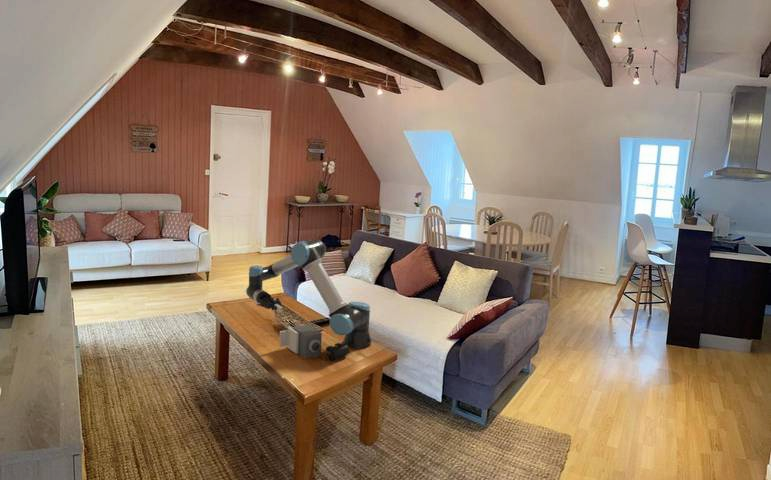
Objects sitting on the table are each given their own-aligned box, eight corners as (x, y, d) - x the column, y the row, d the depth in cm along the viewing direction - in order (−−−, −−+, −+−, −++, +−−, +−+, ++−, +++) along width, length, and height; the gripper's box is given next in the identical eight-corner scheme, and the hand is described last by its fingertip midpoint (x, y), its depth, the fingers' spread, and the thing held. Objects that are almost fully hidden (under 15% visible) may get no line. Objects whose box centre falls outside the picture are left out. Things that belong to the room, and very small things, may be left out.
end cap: (334, 363, 242) (335, 350, 241) (324, 359, 247) (325, 346, 246) (348, 357, 250) (349, 345, 249) (339, 353, 254) (339, 341, 253)
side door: (289, 346, 258) (289, 326, 256) (298, 353, 250) (298, 332, 248) (279, 348, 255) (279, 328, 253) (288, 355, 247) (288, 334, 245)
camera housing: (307, 345, 262) (308, 324, 259) (323, 356, 249) (323, 334, 247) (292, 349, 256) (292, 327, 254) (307, 360, 243) (308, 337, 241)
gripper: (273, 302, 277) (292, 315, 259) (251, 305, 269) (269, 318, 251) (273, 289, 276) (292, 301, 258) (251, 292, 268) (269, 304, 250)
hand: (281, 310), depth 254 cm, fingers closed
